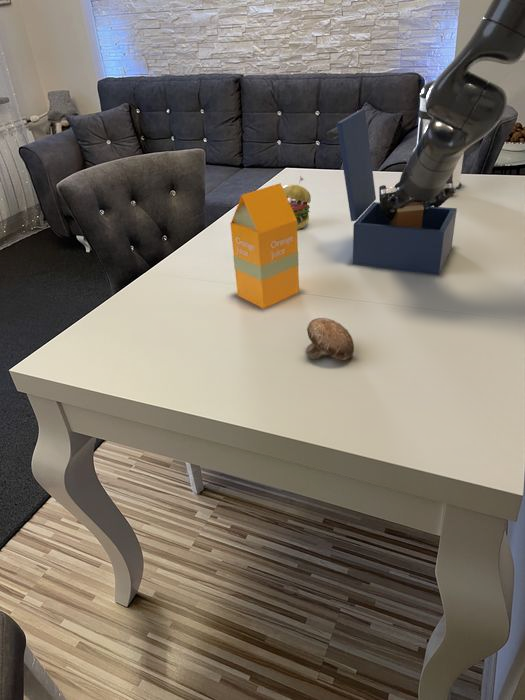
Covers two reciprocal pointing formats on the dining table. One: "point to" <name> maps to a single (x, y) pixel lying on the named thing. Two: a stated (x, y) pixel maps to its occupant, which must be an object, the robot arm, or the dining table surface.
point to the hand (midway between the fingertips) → (403, 214)
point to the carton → (409, 216)
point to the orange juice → (265, 247)
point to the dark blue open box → (404, 241)
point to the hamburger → (298, 202)
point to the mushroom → (329, 340)
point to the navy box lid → (356, 162)
